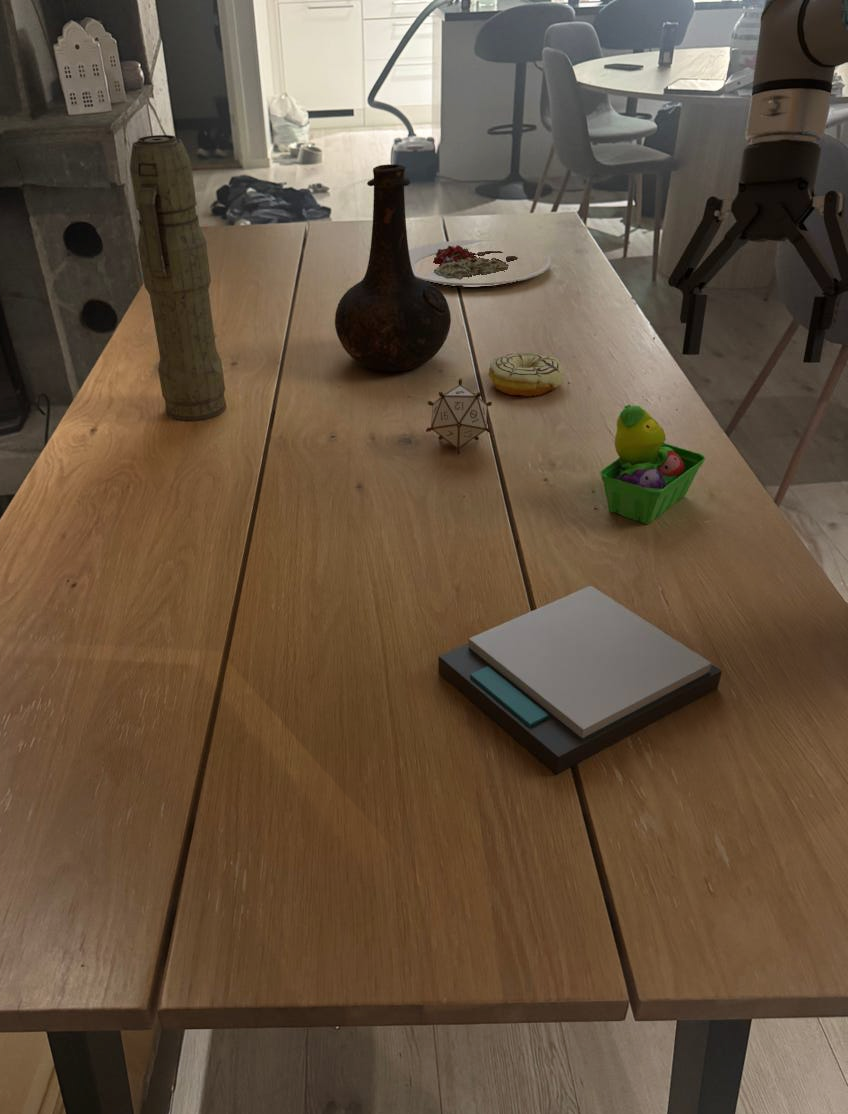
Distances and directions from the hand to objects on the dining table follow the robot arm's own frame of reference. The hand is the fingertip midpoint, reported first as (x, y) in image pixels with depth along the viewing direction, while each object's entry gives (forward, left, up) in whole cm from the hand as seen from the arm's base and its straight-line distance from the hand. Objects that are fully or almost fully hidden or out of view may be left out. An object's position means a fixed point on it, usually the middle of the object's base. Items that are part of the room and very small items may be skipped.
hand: (748, 358), depth 105 cm
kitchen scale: (-17, +39, -16) cm, 46 cm away
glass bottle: (+58, +8, -16) cm, 60 cm away
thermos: (+60, +41, -16) cm, 74 cm away
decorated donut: (+38, -2, -16) cm, 41 cm away
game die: (+28, +18, -16) cm, 37 cm away
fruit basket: (+3, +10, -16) cm, 19 cm away
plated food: (+89, -32, -16) cm, 95 cm away
